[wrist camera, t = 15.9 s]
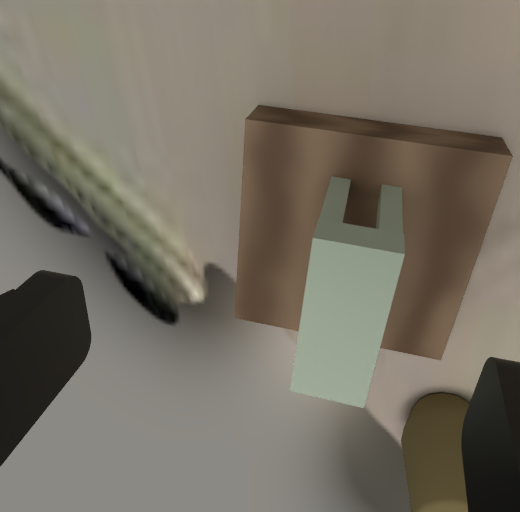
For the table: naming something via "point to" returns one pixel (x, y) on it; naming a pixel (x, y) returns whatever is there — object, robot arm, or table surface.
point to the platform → (364, 213)
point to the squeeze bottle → (435, 454)
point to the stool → (347, 297)
